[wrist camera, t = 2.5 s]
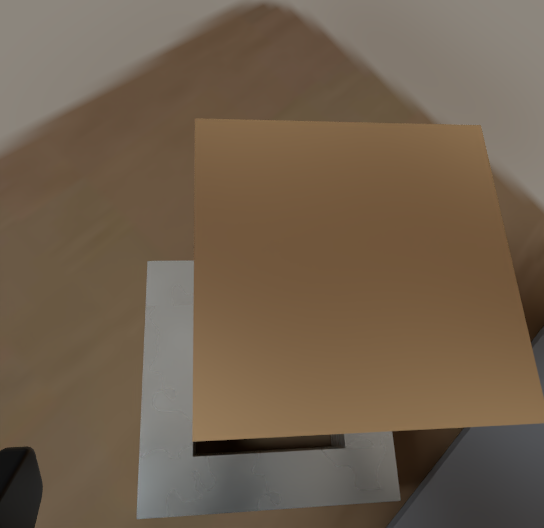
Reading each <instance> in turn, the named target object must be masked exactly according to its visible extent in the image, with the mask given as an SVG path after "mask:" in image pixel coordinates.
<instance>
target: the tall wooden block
mask: <svg viewBox="0 0 544 528" xmlns="http://www.w3.org/2000/svg"><path fill="white" fill-rule="evenodd" d="M540 423H544V397H543V393H542V389H541V384H540V380H539V376H538V371H537V367H536V363H535V358H534V354H533V350H532V345H531V341H530V337H529V332H528V328H527V324H526V319H525V315H524V311H523V306H522V302H521V298H520V293H519V289H518V285H517V280H516V276H515V272H514V267H513V263H512V259H511V254H510V250H509V246H508V241H507V237H506V233H505V228H504V224H503V220H502V215H501V211H500V207H499V202H498V198H497V194H496V189H495V185H494V181H493V176H492V172H491V168H490V163H489V159H488V155H487V150H486V146H485V142H484V137H483V133H482V129H481V126H480V125H446V124H404V123H362V122H320V121H279V120H237V119H195V185H194V305H193V426H192V442H195V441H214V440H233V439H253V438H272V437H291V436H310V435H329V434H348V433H368V432H387V431H406V430H425V429H444V428H463V427H483V426H502V425H521V424H540Z"/></svg>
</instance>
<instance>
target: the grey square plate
mask: <svg viewBox="0 0 544 528" xmlns="http://www.w3.org/2000/svg"><path fill="white" fill-rule="evenodd" d="M531 345H532V350H533V354H534V358H535V363H536V367H537V371H538V376H539V380H540V384H541V389H542V393H543V397H544V326H543V328H542V329H541V330H540V331H539V333H538V334H537V335H536V337H535V338H534V339H533V340H532V342H531ZM386 528H544V423H540V424H521V425H502V426H483V427H464V429H463V430H462V431H461V432H460V434H459V435H458V436H457V438H456V439H455V440H454V441H453V443H452V444H451V445H450V447H449V448H448V449H447V450H446V452H445V453H444V454H443V456H442V457H441V458H440V459H439V461H438V462H437V463H436V464H435V466H434V467H433V468H432V470H431V471H430V472H429V473H428V475H427V476H426V477H425V479H424V480H423V481H422V482H421V484H420V485H419V486H418V488H417V489H416V490H415V491H414V493H413V494H412V495H411V496H410V498H409V499H408V500H407V502H406V503H405V504H404V505H403V507H402V508H401V509H400V511H399V512H398V513H397V514H396V516H395V517H394V518H393V520H392V521H391V522H390V523H389V525H388V526H387V527H386Z"/></svg>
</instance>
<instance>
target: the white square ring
mask: <svg viewBox="0 0 544 528" xmlns="http://www.w3.org/2000/svg"><path fill="white" fill-rule="evenodd" d="M193 305H194V261H148V266H147V289H146V313H145V336H144V359H143V382H142V406H141V429H140V452H139V475H138V499H137V519H145V518H160V517H174V516H189V515H203V514H217V513H232V512H246V511H260V510H275V509H289V508H304V507H318V506H332V505H347V504H361V503H375V502H390V501H401V498H400V490H399V482H398V474H397V466H396V458H395V450H394V442H393V434H392V431H387V432H368V433H348V434H331V447H313V448H295V449H277V450H259V451H241V452H223V453H204V454H196V441H195V442H192V426H193Z"/></svg>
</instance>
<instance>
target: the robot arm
mask: <svg viewBox="0 0 544 528" xmlns="http://www.w3.org/2000/svg"><path fill="white" fill-rule="evenodd" d="M42 490H43V485H42V479H41V475H40V471H39V467H38V463H37V459H36V455H35V452H34V450H33V449H32V448H31V447H10V448H5V449H3V450H1V451H0V528H34V527H35V523H36V519H37V515H38V511H39V507H40V502H41V498H42Z"/></svg>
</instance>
